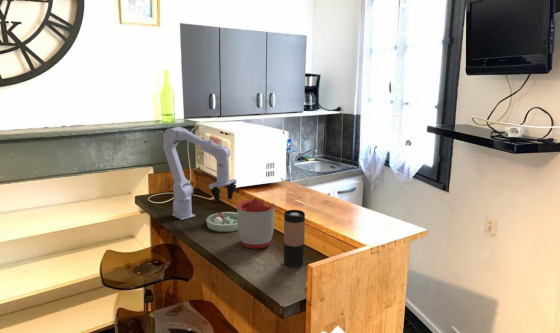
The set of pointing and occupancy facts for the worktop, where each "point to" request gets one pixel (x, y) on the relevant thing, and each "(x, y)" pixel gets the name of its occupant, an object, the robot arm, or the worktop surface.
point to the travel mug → (294, 238)
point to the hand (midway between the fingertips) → (223, 200)
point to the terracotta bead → (220, 215)
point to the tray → (221, 226)
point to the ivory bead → (217, 220)
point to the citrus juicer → (255, 223)
